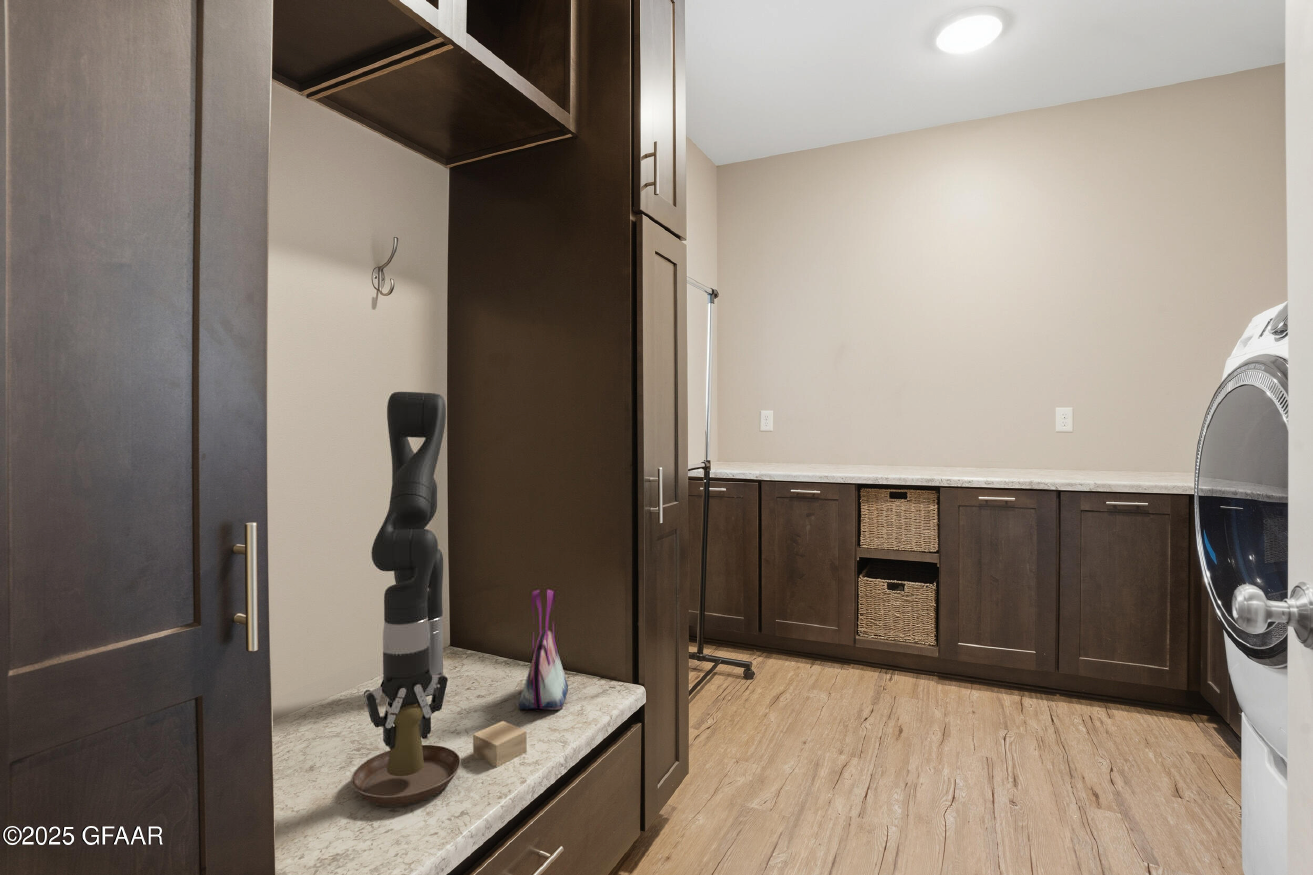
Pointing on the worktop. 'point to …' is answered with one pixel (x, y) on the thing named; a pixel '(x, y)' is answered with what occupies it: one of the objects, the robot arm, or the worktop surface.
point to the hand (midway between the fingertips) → (407, 741)
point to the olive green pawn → (407, 742)
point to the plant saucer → (405, 778)
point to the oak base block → (499, 743)
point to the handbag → (544, 667)
